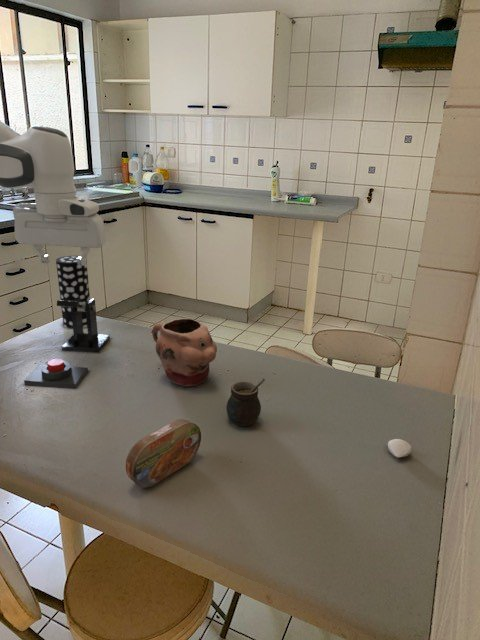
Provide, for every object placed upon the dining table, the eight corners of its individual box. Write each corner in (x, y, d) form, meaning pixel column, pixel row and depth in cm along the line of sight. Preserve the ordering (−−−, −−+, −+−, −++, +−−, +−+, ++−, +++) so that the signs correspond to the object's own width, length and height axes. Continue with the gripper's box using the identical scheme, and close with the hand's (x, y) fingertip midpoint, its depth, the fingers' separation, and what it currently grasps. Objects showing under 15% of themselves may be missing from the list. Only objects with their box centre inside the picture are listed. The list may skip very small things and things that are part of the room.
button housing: (24, 385, 107) (22, 373, 105) (40, 368, 114) (39, 357, 113) (75, 388, 106) (74, 377, 105) (88, 371, 113) (87, 360, 112)
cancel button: (45, 371, 107) (44, 365, 107) (52, 364, 111) (51, 358, 110) (60, 372, 107) (59, 366, 107) (66, 365, 111) (66, 359, 110)
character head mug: (134, 374, 113) (131, 321, 108) (166, 355, 123) (165, 307, 118) (200, 399, 104) (200, 343, 99) (229, 377, 114) (231, 325, 108)
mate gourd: (222, 412, 100) (224, 371, 96) (257, 409, 101) (259, 368, 97) (229, 432, 93) (230, 388, 89) (265, 428, 95) (268, 386, 91)
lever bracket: (99, 352, 123) (95, 307, 118) (62, 350, 124) (56, 305, 119) (109, 338, 132) (106, 296, 127) (75, 336, 132) (70, 294, 127)
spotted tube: (97, 323, 141) (92, 259, 134) (72, 331, 135) (65, 264, 128) (82, 316, 146) (76, 254, 139) (58, 323, 140) (50, 258, 133)
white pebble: (410, 450, 90) (413, 440, 89) (408, 466, 86) (410, 455, 85) (388, 444, 91) (390, 433, 90) (384, 459, 87) (386, 448, 86)
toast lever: (76, 309, 113) (77, 299, 113) (56, 307, 113) (57, 298, 113) (94, 312, 125) (94, 303, 125) (75, 311, 125) (76, 302, 125)
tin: (135, 497, 76) (132, 455, 73) (123, 487, 78) (121, 446, 74) (202, 455, 86) (202, 416, 83) (191, 447, 88) (191, 409, 85)
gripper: (4, 204, 102) (13, 265, 107) (95, 208, 101) (100, 269, 106) (19, 200, 108) (27, 258, 113) (105, 204, 107) (109, 262, 112)
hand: (63, 264), depth 110 cm, fingers open, 8 cm apart
